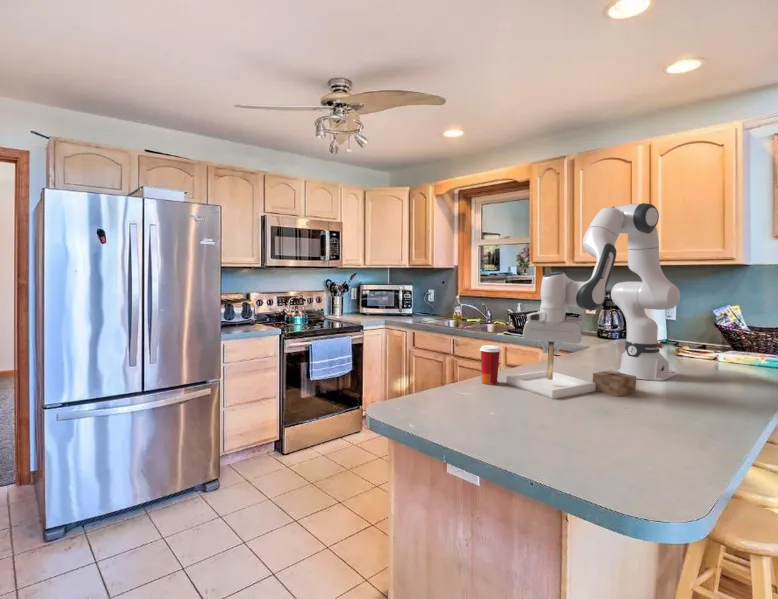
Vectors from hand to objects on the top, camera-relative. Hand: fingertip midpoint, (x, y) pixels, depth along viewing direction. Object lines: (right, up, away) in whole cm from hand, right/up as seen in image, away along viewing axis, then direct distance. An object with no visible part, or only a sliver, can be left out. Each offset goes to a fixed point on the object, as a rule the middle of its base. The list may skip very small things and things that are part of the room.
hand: (550, 353), depth 166 cm
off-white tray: (0, -13, +1) cm, 13 cm away
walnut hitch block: (+22, -13, -3) cm, 25 cm away
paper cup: (-21, -12, +7) cm, 25 cm away
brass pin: (0, -10, +1) cm, 10 cm away
